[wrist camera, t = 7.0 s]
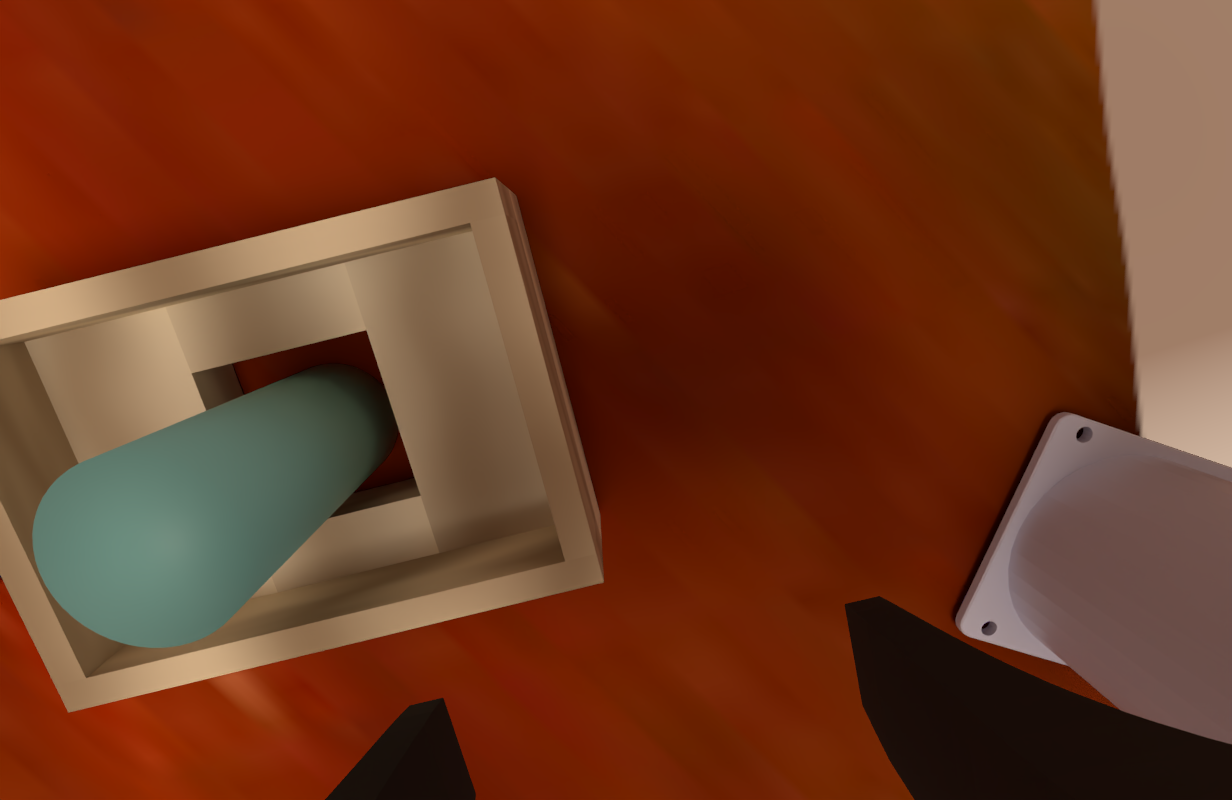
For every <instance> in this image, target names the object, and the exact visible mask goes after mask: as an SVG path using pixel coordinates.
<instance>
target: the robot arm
mask: <svg viewBox="0 0 1232 800" xmlns="http://www.w3.org/2000/svg"><path fill="white" fill-rule="evenodd" d="M1082 427H1083V434H1082V435H1081V437H1080V438H1078V439H1077V438H1076V435H1077V432H1078V430H1079V429H1080V428H1082ZM845 609H846V615H847V620H848V626H849V632H850V637H851V643H852V648H853V654H854V660H855V665H856V671H857V677H858V682H859V688H860V694H861V699H862V705H863V707H864V709H865V711H866V713H867V715H868V717H869V719H870V722H871V724H872V726H873V728H874V730H875V732H876V734H877V736H878V738H879V740H880V742H881V744H882V746H883V748H884V750H885V752H886V754H887V756H888V758H889V760H890V762H891V763H892V765H893V766H894V768H895V770H896V771H897V773H898V774H899V776H900V777H901V779H902V781H903V782H904V784H905V785H906V787H907V788H908V790H909V792H910V793H911V795H912V796H913V798H914V799H915V800H1232V468H1231V467H1228V466H1225V465H1222V464H1219V463H1216V462H1213V461H1210V460H1207V459H1204V458H1202V457H1199V456H1195V455H1193V454H1190V453H1187V452H1184V451H1181V450H1178V449H1175V448H1172V447H1169V446H1166V445H1163V444H1160V443H1158V442H1155V441H1151V440H1149V439H1146V438H1143V437H1140V436H1137V435H1134V434H1131V433H1128V432H1125V431H1122V430H1120V429H1117V428H1114V427H1111V426H1108V425H1105V424H1102V423H1099V422H1096V421H1093V420H1090V419H1087V418H1084V417H1081V416H1079V415H1076V414H1072V413H1069V412H1062V413H1058V414H1056V415H1055V416H1054V417H1052V419H1051V420H1050V422H1049V423H1048V425H1047V427H1046V429H1045V431H1044V434H1043V436H1042V438H1041V440H1040V442H1039V444H1038V446H1037V448H1036V450H1035V452H1034V454H1033V457H1032V459H1031V461H1030V463H1029V465H1028V467H1027V469H1026V471H1025V473H1024V475H1023V477H1022V479H1021V482H1020V484H1019V486H1018V488H1017V490H1016V492H1015V494H1014V496H1013V498H1012V500H1011V502H1010V505H1009V507H1008V509H1007V511H1006V513H1005V515H1004V517H1003V519H1002V521H1001V523H1000V525H999V528H998V530H997V532H996V534H995V536H994V538H993V540H992V542H991V544H990V546H989V548H988V550H987V553H986V555H985V557H984V559H983V561H982V563H981V565H980V567H979V569H978V571H977V573H976V576H975V578H974V580H973V582H972V584H971V586H970V588H969V590H968V592H967V594H966V596H965V599H964V601H963V603H962V605H961V607H960V609H959V611H958V613H957V615H956V619H955V622H956V626H957V627H958V628H959V630H960V631H961V632H962V633H963V634H965V635H966V636H968V637H971V638H975V639H978V640H982V641H985V642H988V643H992V644H995V645H999V646H1002V647H1005V648H1009V649H1012V650H1016V651H1019V652H1023V653H1026V654H1029V655H1033V656H1036V657H1040V658H1043V659H1047V660H1050V661H1053V662H1057V663H1060V664H1064V665H1067V666H1069V667H1071V668H1072V669H1073V670H1074V671H1075V672H1076V673H1078V674H1079V675H1080V676H1081V677H1082V678H1084V679H1085V680H1086V681H1087V682H1088V683H1089V684H1091V685H1092V686H1093V687H1094V688H1095V689H1096V690H1098V691H1099V692H1100V693H1101V694H1102V695H1104V696H1105V697H1106V698H1107V699H1108V700H1109V701H1111V702H1112V703H1113V704H1114V705H1115V706H1116V707H1118V708H1119V709H1120V710H1118V709H1115V708H1113V707H1110V706H1107V705H1105V704H1102V703H1099V702H1097V701H1094V700H1091V699H1089V698H1086V697H1084V696H1081V695H1078V694H1076V693H1073V692H1070V691H1068V690H1065V689H1063V688H1060V687H1058V686H1056V685H1053V684H1051V683H1048V682H1046V681H1044V680H1042V679H1039V678H1037V677H1035V676H1033V675H1031V674H1028V673H1026V672H1024V671H1022V670H1020V669H1017V668H1015V667H1013V666H1011V665H1009V664H1006V663H1004V662H1002V661H1000V660H998V659H996V658H994V657H992V656H990V655H988V654H986V653H984V652H982V651H980V650H978V649H976V648H974V647H972V646H970V645H968V644H966V643H964V642H962V641H960V640H959V639H957V638H955V637H953V636H951V635H949V634H947V633H945V632H944V631H942V630H940V629H938V628H936V627H934V626H933V625H931V624H929V623H927V622H925V621H924V620H922V619H920V618H918V617H916V616H915V615H913V614H911V613H909V612H907V611H906V610H904V609H902V608H900V607H898V606H897V605H895V604H893V603H891V602H889V601H887V600H886V599H884V598H882V597H880V596H878V597H874V598H869V599H865V600H861V601H857V602H852V603H848V604H845ZM988 621H990V623H989V625H988V626H987V627H986V628H984V629H982V626H983V625H984V623H986V622H988ZM475 796H476V793H475V790H474V787H473V784H472V781H471V778H470V776H469V773H468V770H467V767H466V764H465V761H464V758H463V755H462V752H461V749H460V746H459V743H458V740H457V737H456V734H455V731H454V728H453V725H452V722H451V719H450V716H449V714H448V711H447V708H446V705H445V702H444V699H443V698H440V699H436V700H432V701H427V702H423V703H419V704H415V705H410V706H409V707H408V708H407V709H406V710H405V711H404V712H403V713H402V714H401V715H400V716H399V717H398V718H397V719H396V720H395V721H394V723H393V724H392V725H391V726H390V727H389V728H388V729H387V730H386V731H385V733H384V734H383V735H382V736H381V737H380V738H379V739H378V741H377V742H376V743H375V744H374V745H373V746H372V747H371V749H370V750H369V751H368V752H367V753H366V754H365V755H364V757H363V758H362V759H361V760H360V761H359V762H358V763H357V764H356V766H355V767H354V768H353V769H352V770H351V771H350V772H349V773H348V775H347V776H346V777H345V778H344V779H343V780H342V781H341V782H340V784H339V785H338V786H337V787H336V788H335V789H334V790H333V792H332V793H331V794H330V795H329V796H328V797H327V798H326V799H325V800H475Z"/></svg>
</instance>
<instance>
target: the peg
mask: <svg viewBox="0 0 1232 800" xmlns="http://www.w3.org/2000/svg"><path fill="white" fill-rule="evenodd" d="M397 434H398V425H397V422H396V419H395V416H394V413H393V410H392V407H391V404H390V401H389V398H388V395H387V392H386V389H385V388H384V387H383V386H382V385H381V383H379V382H378V381H377V380H376V379H375V378H374V377H372V376H371V375H370V374H368V373H366V372H364V371H363V370H361V369H358V368H356V367H353V366H349V365H345V364H332V363H329V364H321V365H318V366H314V367H311V368H309V369H306V370H304V371H302V372H299V373H297V374H294V375H292V376H289V377H287V378H285V379H282V380H280V381H277V382H275V383H272V384H270V385H268V386H265V387H263V388H260V389H258V390H255V391H253V392H251V393H248V394H246V395H243V396H241V397H238V398H236V399H234V400H231V401H229V402H226V403H224V404H221V405H219V406H217V407H214V408H212V409H209V410H207V411H204V412H202V413H200V414H197V415H195V416H192V417H190V418H187V419H185V420H183V421H180V422H178V423H175V424H173V425H170V426H168V427H166V428H163V429H161V430H158V431H156V432H153V433H151V434H149V435H146V436H144V437H141V438H139V439H137V440H134V441H132V442H129V443H127V444H124V445H122V446H120V447H117V448H115V449H112V450H110V451H107V452H105V453H103V454H100V455H98V456H95V457H93V458H90V459H88V460H86V461H83V462H81V463H79V464H77V465H75V466H74V467H72V468H70V469H69V470H67V471H66V472H65V473H64V474H62V475H61V476H60V477H59V478H58V479H57V480H56V481H55V482H54V483H53V484H52V485H51V486H50V487H49V489H48V490H47V492H46V493H45V495H44V496H43V498H42V500H41V502H40V504H39V506H38V509H37V512H36V515H35V519H34V524H33V533H32V539H33V551H34V556H35V561H36V564H37V567H38V570H39V573H40V575H41V577H42V579H43V581H44V583H45V585H46V587H47V588H48V590H49V591H50V593H51V594H52V596H53V597H54V598H55V600H56V601H57V602H58V603H59V604H60V605H61V607H62V608H63V609H64V610H65V611H67V612H68V613H69V614H70V615H71V616H72V617H73V618H74V619H76V620H77V621H78V622H80V623H81V624H82V625H84V626H85V627H87V628H89V629H90V630H92V631H94V632H95V633H97V634H100V635H102V636H104V637H106V638H108V639H111V640H114V641H117V642H120V643H123V644H128V645H133V646H137V647H147V648H167V647H175V646H180V645H184V644H188V643H192V642H194V641H197V640H200V639H202V638H204V637H206V636H208V635H210V634H212V633H213V632H215V631H216V630H218V629H219V628H220V627H222V626H223V625H224V624H225V623H226V622H227V621H228V620H229V619H230V618H231V617H232V616H233V615H234V614H235V613H236V612H237V611H238V610H239V609H240V608H241V607H242V606H243V605H244V604H245V603H246V602H247V601H248V600H249V599H250V598H251V597H252V596H253V595H254V594H255V593H256V592H257V591H258V590H259V589H260V588H261V587H262V586H263V585H264V584H265V583H266V582H267V581H268V579H269V578H270V577H271V576H272V575H273V574H274V573H275V572H276V571H277V570H278V569H279V568H280V567H281V566H282V565H283V564H284V563H285V562H286V561H287V560H288V559H289V558H290V557H291V556H292V555H293V554H294V553H295V552H296V551H297V550H298V549H299V548H300V547H301V546H302V545H303V544H304V543H305V542H306V541H307V540H308V538H309V537H310V536H311V535H312V534H313V533H314V532H315V531H316V530H317V529H318V528H319V527H320V526H321V525H322V524H323V523H324V522H325V521H326V520H327V519H328V518H329V517H330V516H331V515H332V514H333V513H334V512H335V511H336V510H337V509H338V508H339V507H340V506H341V505H342V504H343V503H344V502H345V501H346V500H347V499H348V497H349V496H350V495H351V494H352V493H353V492H354V491H355V490H356V489H357V488H358V487H359V486H360V485H361V484H362V483H363V482H364V481H365V480H366V479H367V478H368V477H369V476H370V475H371V474H372V473H373V472H374V471H375V470H376V469H377V468H378V467H379V466H380V465H381V464H382V463H383V462H384V461H385V460H386V458H387V457H388V456H389V454H390V453H391V451H392V449H393V447H394V445H395V442H396V439H397Z"/></svg>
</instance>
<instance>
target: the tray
mask: <svg viewBox="0 0 1232 800" xmlns="http://www.w3.org/2000/svg"><path fill="white" fill-rule="evenodd" d="M365 330H366V331H367V334H368V337H369V340H370V343H371V346H372V349H373V352H374V355H375V358H376V361H377V364H378V367H379V370H380V373H381V376H382V379H383V382H384V385H385V389H386V392H387V395H388V398H389V401H390V404H391V407H392V410H393V413H394V416H395V419H396V422H397V425H398V428H399V431H400V434H401V437H402V440H403V443H404V447H405V450H406V453H407V456H408V459H409V462H410V465H411V468H412V471H413V474H414V477H415V478H413V479H409V480H405V481H401V482H396V483H392V484H388V485H384V486H380V487H376V488H372V489H368V490H364V491H360V492H356V493H352V494H351V495H350V496H349V497H348V499H347V500H346V501H345V502H344V503H343V504H342V505H341V506H340V507H339V508H338V509H337V510H336V511H335V512H334V513H333V514H332V515H331V516H330V517H329V518H328V519H327V520H326V521H325V522H324V523H323V524H322V525H321V526H320V527H319V528H318V529H317V530H316V531H315V532H314V533H313V534H312V535H311V536H310V537H309V538H308V540H307V541H306V542H305V543H304V544H303V545H302V546H301V547H300V548H299V549H298V550H297V551H296V552H295V553H294V554H293V555H292V556H291V557H290V558H289V559H288V560H287V561H286V562H285V563H284V564H283V565H282V566H281V567H280V568H279V569H278V570H277V571H276V572H275V573H274V574H273V575H272V576H271V577H270V578H269V579H268V581H267V582H266V583H265V584H264V585H263V586H262V587H261V588H260V589H259V590H258V591H257V592H256V593H255V594H254V595H253V596H252V597H251V598H250V599H249V600H248V601H247V602H246V603H245V604H244V605H243V606H242V607H241V608H240V609H239V610H238V611H237V612H236V613H235V614H234V615H233V616H232V617H231V618H230V619H229V620H228V621H227V622H226V623H225V624H224V625H223V626H222V627H220V628H219V629H218V630H216V631H215V632H213V633H212V634H210V635H208V636H206V637H204V638H202V639H200V640H197V641H194V642H192V643H188V644H184V645H180V646H175V647H167V648H147V647H137V646H133V645H128V644H123V643H120V642H117V641H114V640H111V639H108V638H106V637H104V636H102V635H100V634H97V633H95V632H94V631H92V630H90V629H89V628H87V627H85V626H84V625H82V624H81V623H80V622H78V621H77V620H76V619H74V618H73V617H72V616H71V615H70V614H69V613H68V612H67V611H65V610H64V609H63V608H62V607H61V605H60V604H59V603H58V602H57V601H56V600H55V598H54V597H53V596H52V594H51V593H50V591H49V590H48V588H47V587H46V585H45V583H44V581H43V579H42V577H41V575H40V573H39V570H38V567H37V564H36V561H35V556H34V551H33V539H32V533H33V524H34V519H35V515H36V512H37V509H38V506H39V504H40V502H41V500H42V498H43V496H44V495H45V493H46V492H47V490H48V489H49V487H50V486H51V485H52V484H53V483H54V482H55V481H56V480H57V479H58V478H59V477H60V476H61V475H62V474H64V473H65V472H66V471H67V470H69V469H70V468H72V467H74V466H75V465H77V464H79V463H81V462H83V461H86V460H88V459H90V458H93V457H95V456H98V455H100V454H103V453H105V452H107V451H110V450H112V449H115V448H117V447H120V446H122V445H124V444H127V443H129V442H132V441H134V440H137V439H139V438H141V437H144V436H146V435H149V434H151V433H153V432H156V431H158V430H161V429H163V428H166V427H168V426H170V425H173V424H175V423H178V422H180V421H183V420H185V419H187V418H190V417H192V416H195V415H197V414H200V413H202V412H204V411H207V410H209V409H212V408H214V407H217V406H219V405H221V404H224V403H226V402H229V401H231V400H234V399H236V398H238V397H241V396H243V395H244V394H243V392H242V389H241V386H240V384H239V381H238V378H237V376H236V373H235V371H234V368H233V365H232V363H235V362H239V361H243V360H247V359H251V358H255V357H260V356H264V355H268V354H272V353H276V352H280V351H284V350H288V349H292V348H296V347H300V346H304V345H308V344H312V343H316V342H320V341H324V340H328V339H332V338H336V337H341V336H345V335H349V334H353V333H357V332H361V331H365ZM0 575H1V577H2V579H3V581H4V583H5V585H6V587H7V589H8V592H9V594H10V596H11V598H12V600H13V602H14V604H15V606H16V608H17V610H18V612H19V614H20V616H21V618H22V620H23V622H24V624H25V626H26V628H27V630H28V632H29V634H30V636H31V638H32V640H33V642H34V644H35V646H36V648H37V650H38V652H39V654H40V656H41V658H42V660H43V662H44V664H45V666H46V668H47V670H48V672H49V674H50V676H51V678H52V680H53V682H54V684H55V686H56V688H57V690H58V692H59V694H60V696H61V698H62V700H63V702H64V704H65V706H66V708H67V710H68V712H73V711H77V710H81V709H85V708H89V707H93V706H97V705H101V704H105V703H110V702H114V701H118V700H122V699H126V698H130V697H134V696H138V695H142V694H147V693H151V692H155V691H159V690H163V689H167V688H171V687H175V686H179V685H184V684H188V683H192V682H196V681H200V680H204V679H208V678H212V677H216V676H221V675H225V674H229V673H233V672H237V671H241V670H245V669H249V668H253V667H258V666H262V665H266V664H270V663H274V662H278V661H282V660H286V659H290V658H295V657H299V656H303V655H307V654H311V653H315V652H319V651H323V650H327V649H332V648H336V647H340V646H344V645H348V644H352V643H356V642H360V641H364V640H369V639H373V638H377V637H381V636H385V635H389V634H393V633H397V632H401V631H406V630H410V629H414V628H418V627H422V626H426V625H430V624H434V623H438V622H443V621H447V620H451V619H455V618H459V617H463V616H467V615H471V614H475V613H480V612H484V611H488V610H492V609H496V608H500V607H504V606H508V605H512V604H517V603H521V602H525V601H529V600H533V599H537V598H541V597H545V596H549V595H554V594H558V593H562V592H566V591H570V590H574V589H578V588H582V587H586V586H591V585H595V584H599V583H603V582H604V575H603V557H602V539H601V522H600V512H599V508H598V504H597V500H596V496H595V493H594V489H593V485H592V481H591V477H590V474H589V470H588V466H587V462H586V458H585V455H584V451H583V447H582V443H581V439H580V436H579V432H578V428H577V424H576V420H575V417H574V413H573V409H572V405H571V402H570V398H569V394H568V390H567V386H566V383H565V379H564V375H563V371H562V367H561V364H560V360H559V356H558V352H557V348H556V345H555V341H554V337H553V333H552V329H551V326H550V322H549V318H548V314H547V310H546V307H545V303H544V299H543V295H542V291H541V288H540V284H539V280H538V276H537V272H536V269H535V265H534V261H533V257H532V253H531V250H530V246H529V242H528V238H527V235H526V231H525V227H524V223H523V219H522V216H521V212H520V208H519V204H518V200H517V197H516V195H515V194H514V193H513V192H512V191H510V190H509V189H508V188H507V187H506V186H505V185H503V184H502V183H501V182H500V181H499V180H498V179H496V178H495V177H494V178H490V179H486V180H482V181H478V182H474V183H470V184H466V185H462V186H458V187H454V188H450V189H446V190H442V191H438V192H434V193H430V194H426V195H422V196H418V197H414V198H410V199H406V200H402V201H398V202H394V203H390V204H386V205H381V206H377V207H373V208H369V209H365V210H361V211H357V212H353V213H349V214H345V215H341V216H337V217H333V218H329V219H325V220H321V221H317V222H313V223H309V224H305V225H301V226H297V227H293V228H289V229H285V230H281V231H277V232H273V233H269V234H265V235H261V236H257V237H253V238H249V239H245V240H241V241H237V242H233V243H229V244H224V245H220V246H216V247H212V248H208V249H204V250H200V251H196V252H192V253H188V254H184V255H180V256H176V257H172V258H168V259H164V260H160V261H156V262H152V263H148V264H144V265H140V266H136V267H132V268H128V269H124V270H120V271H116V272H112V273H108V274H104V275H100V276H96V277H92V278H88V279H84V280H80V281H76V282H72V283H68V284H63V285H59V286H55V287H51V288H47V289H43V290H39V291H35V292H31V293H27V294H23V295H19V296H15V297H11V298H7V299H3V300H0Z"/></svg>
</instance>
